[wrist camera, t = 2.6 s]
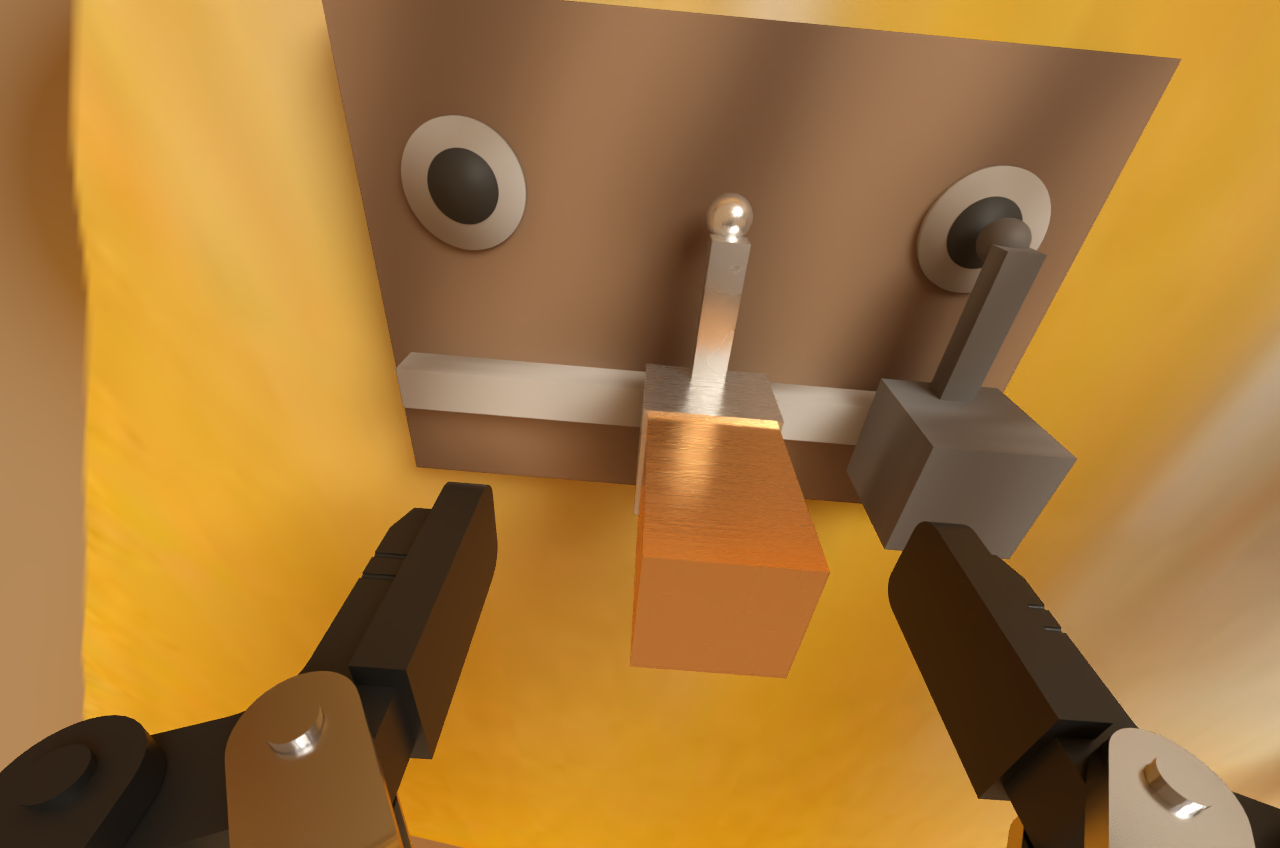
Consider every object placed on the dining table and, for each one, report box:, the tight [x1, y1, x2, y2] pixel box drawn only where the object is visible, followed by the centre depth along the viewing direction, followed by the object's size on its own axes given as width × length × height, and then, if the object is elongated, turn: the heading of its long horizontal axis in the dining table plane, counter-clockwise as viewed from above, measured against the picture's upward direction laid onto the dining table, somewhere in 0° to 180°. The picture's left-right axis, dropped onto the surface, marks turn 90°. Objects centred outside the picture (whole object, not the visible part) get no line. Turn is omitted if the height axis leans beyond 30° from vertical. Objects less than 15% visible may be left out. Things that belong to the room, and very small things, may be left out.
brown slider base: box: [322, 0, 1181, 559], centre depth 12 cm, size 17×12×6 cm
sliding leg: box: [630, 193, 830, 678], centre depth 10 cm, size 3×7×7 cm, turn 175°
